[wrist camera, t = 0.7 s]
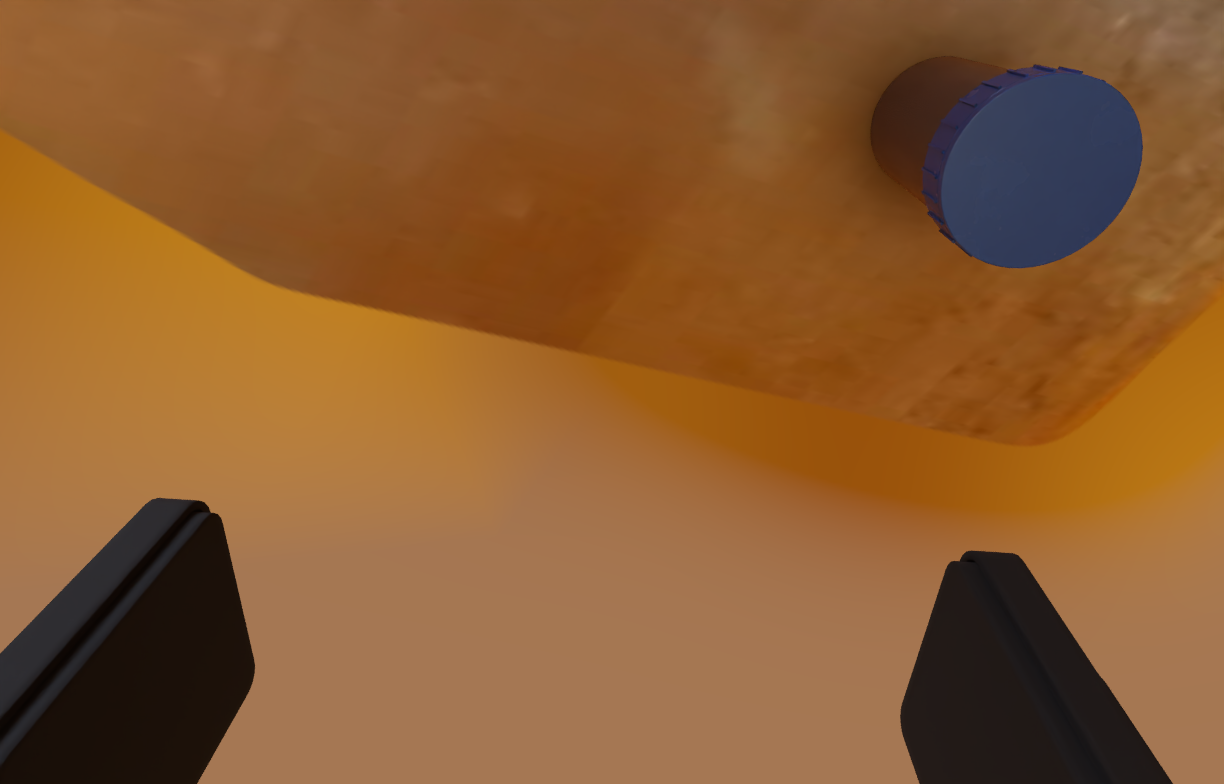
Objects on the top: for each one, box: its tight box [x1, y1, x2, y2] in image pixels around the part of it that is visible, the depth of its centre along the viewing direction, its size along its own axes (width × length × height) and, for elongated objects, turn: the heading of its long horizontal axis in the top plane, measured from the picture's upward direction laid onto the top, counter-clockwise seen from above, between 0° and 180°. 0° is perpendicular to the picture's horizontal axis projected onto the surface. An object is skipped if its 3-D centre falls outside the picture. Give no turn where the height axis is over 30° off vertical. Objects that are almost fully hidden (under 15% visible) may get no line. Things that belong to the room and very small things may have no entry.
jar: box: [871, 56, 1009, 206], centre depth 31 cm, size 6×6×10 cm
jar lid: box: [921, 65, 1143, 268], centre depth 27 cm, size 7×7×2 cm
